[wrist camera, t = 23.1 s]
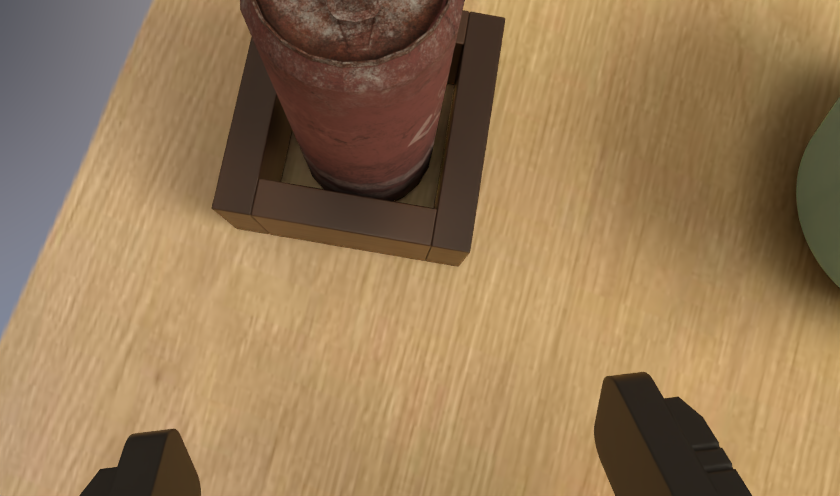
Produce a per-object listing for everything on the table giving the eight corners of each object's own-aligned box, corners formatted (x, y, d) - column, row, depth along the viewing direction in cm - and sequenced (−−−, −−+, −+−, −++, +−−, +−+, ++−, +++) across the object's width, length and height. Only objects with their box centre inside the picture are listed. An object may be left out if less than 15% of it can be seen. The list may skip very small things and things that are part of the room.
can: (373, 61, 30) (358, -190, 16) (456, 155, 29) (518, -21, 15) (276, 135, 29) (172, -64, 15) (360, 234, 28) (333, 122, 14)
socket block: (236, 228, 28) (210, 208, 24) (282, 24, 30) (265, -26, 26) (458, 266, 28) (470, 253, 24) (490, 61, 30) (505, 17, 26)
